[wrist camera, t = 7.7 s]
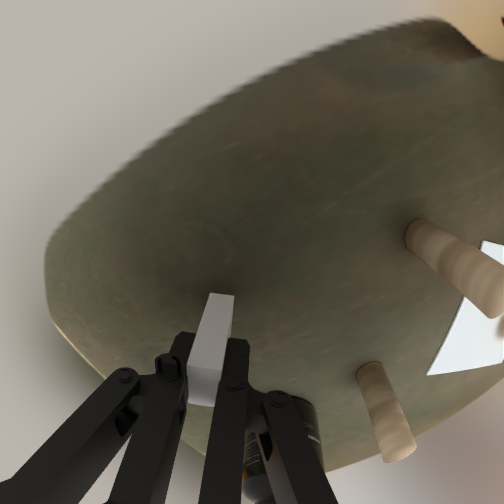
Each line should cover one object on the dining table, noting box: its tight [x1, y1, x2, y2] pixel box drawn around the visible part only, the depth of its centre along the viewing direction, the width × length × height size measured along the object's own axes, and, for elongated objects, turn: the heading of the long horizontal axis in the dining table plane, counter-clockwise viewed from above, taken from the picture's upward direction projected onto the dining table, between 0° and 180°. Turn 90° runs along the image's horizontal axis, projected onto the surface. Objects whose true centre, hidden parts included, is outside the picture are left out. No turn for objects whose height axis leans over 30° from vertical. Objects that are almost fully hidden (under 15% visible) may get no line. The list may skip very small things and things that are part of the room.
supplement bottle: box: [242, 397, 325, 504], centre depth 18 cm, size 7×7×12 cm
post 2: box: [405, 219, 504, 319], centre depth 13 cm, size 2×2×9 cm
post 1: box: [356, 362, 417, 463], centre depth 17 cm, size 2×2×9 cm
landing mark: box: [426, 240, 504, 375], centre depth 19 cm, size 14×14×1 cm
